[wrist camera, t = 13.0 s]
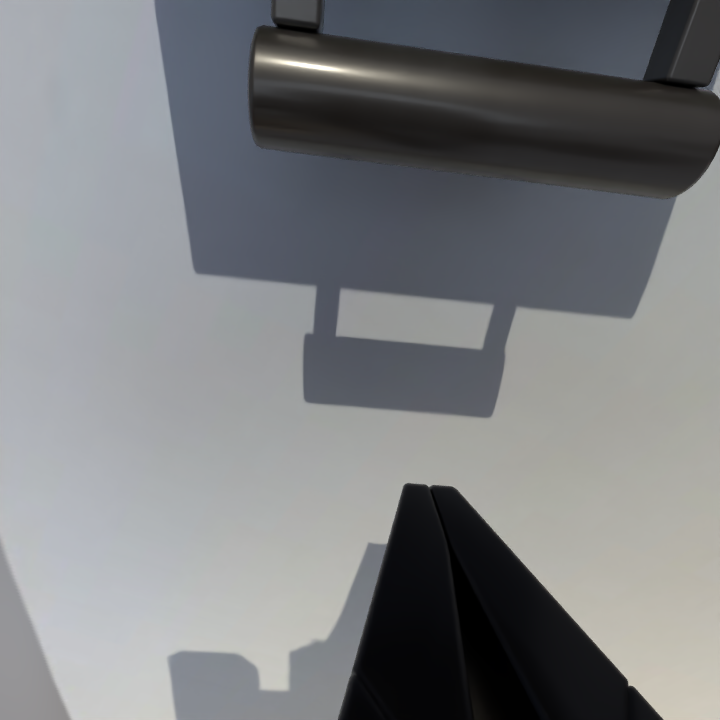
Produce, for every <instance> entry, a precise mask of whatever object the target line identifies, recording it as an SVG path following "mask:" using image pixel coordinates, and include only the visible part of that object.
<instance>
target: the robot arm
mask: <svg viewBox="0 0 720 720" xmlns="http://www.w3.org/2000/svg"><path fill="white" fill-rule="evenodd" d="M338 720H663V719H662V717H661V716H660V715H659V714H658V713H657V712H656V711H655V710H654V709H653V707H652V706H651V705H650V704H649V703H648V702H647V701H646V700H645V699H644V697H643V696H642V695H641V694H640V693H639V692H638V691H637V690H636V689H635V688H634V687H633V686H628V681H627V679H626V678H625V677H624V675H623V674H622V673H621V672H620V671H619V670H618V669H617V668H616V667H615V665H614V664H613V663H612V662H611V661H610V660H609V659H608V658H607V656H606V655H605V654H604V653H603V652H602V651H601V650H600V649H599V648H598V646H597V645H596V644H595V643H594V642H593V641H592V640H591V639H590V638H589V636H588V635H587V634H586V633H585V632H584V631H583V630H582V629H581V627H580V626H579V625H578V624H577V623H576V622H575V621H574V620H573V619H572V617H571V616H570V615H569V614H568V613H567V612H566V611H565V610H564V609H563V607H562V606H561V605H560V604H559V603H558V602H557V601H556V600H555V598H554V597H553V596H552V595H551V594H550V593H549V592H548V591H547V590H546V588H545V587H544V586H543V585H542V584H541V583H540V582H539V581H538V580H537V578H536V577H535V576H534V575H533V574H532V573H531V572H530V571H529V569H528V568H527V567H526V566H525V565H524V564H523V563H522V562H521V561H520V559H519V558H518V557H517V556H516V555H515V554H514V553H513V552H512V551H511V549H510V548H509V547H508V546H507V545H506V544H505V543H504V542H503V540H502V539H501V538H500V537H499V536H498V535H497V534H496V533H495V532H494V530H493V529H492V528H491V527H490V526H489V525H488V524H487V523H486V521H485V520H484V519H483V518H482V517H481V516H480V515H479V514H478V513H477V511H476V510H475V509H474V508H473V507H472V506H471V505H470V504H469V503H468V501H467V500H466V499H465V498H464V497H463V496H462V495H461V494H460V492H459V491H458V490H457V489H455V488H454V487H451V486H439V485H432V486H430V487H428V486H427V485H425V484H411V483H407V484H405V485H404V487H403V490H402V493H401V497H400V500H399V504H398V508H397V511H396V515H395V518H394V522H393V526H392V529H391V533H390V536H389V540H388V543H387V547H386V551H385V554H384V558H383V561H382V565H381V569H380V572H379V576H378V579H377V583H376V586H375V590H374V594H373V597H372V601H371V604H370V608H369V612H368V615H367V619H366V622H365V626H364V629H363V633H362V637H361V640H360V644H359V647H358V651H357V655H356V658H355V662H354V665H353V669H352V674H351V677H350V678H349V682H348V686H347V689H346V693H345V696H344V700H343V703H342V707H341V710H340V714H339V717H338Z"/></svg>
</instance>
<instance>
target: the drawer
mask: <svg viewBox="0 0 720 720" xmlns="http://www.w3.org/2000/svg"><path fill="white" fill-rule="evenodd" d="M324 7H325V0H271V18H272V21H273V23H274V24H275V25H276V27H274V26H267V25H262V26H259V27H257V28H256V30H255V32H254V35H253V39H252V43H251V48H250V55H249V67H248V109H249V120H250V127H251V132H252V136H253V139H254V142H255V144H256V145H257V146H258V147H260V148H261V149H269V150H277V151H285V152H293V153H300V154H308V155H316V156H324V157H332V158H340V159H348V160H356V161H364V162H372V163H380V164H388V165H396V166H404V167H412V168H420V169H428V170H436V171H443V172H451V173H459V174H467V175H475V176H483V177H491V178H499V179H507V180H515V181H523V182H531V183H539V184H547V185H555V186H563V187H571V188H579V189H586V190H594V191H602V192H610V193H618V194H626V195H634V196H642V197H650V198H658V199H668V198H671V197H675V196H677V195H680V194H682V193H683V192H685V191H686V190H688V189H689V188H691V187H692V186H693V185H694V184H695V183H696V182H697V181H698V180H699V179H700V178H701V176H702V175H703V174H704V173H705V171H706V170H707V168H708V167H709V165H710V164H711V162H712V160H713V159H714V157H715V155H716V153H717V151H718V148H719V146H720V98H719V97H718V96H717V95H716V94H715V93H713V92H711V91H709V90H704V89H697V88H698V87H705V86H708V85H709V83H710V82H711V79H712V77H713V74H714V72H715V70H716V67H717V65H718V62H719V60H720V0H670V3H669V6H668V9H667V11H666V14H665V17H664V20H663V23H662V26H661V29H660V32H659V34H658V37H657V40H656V43H655V46H654V49H653V52H652V55H651V57H650V60H649V63H648V66H647V69H646V72H645V75H644V78H643V81H642V80H636V79H629V78H622V77H615V76H608V75H601V74H595V73H588V72H581V71H574V70H567V69H561V68H554V67H547V66H540V65H533V64H526V63H520V62H513V61H506V60H499V59H492V58H485V57H479V56H472V55H465V54H458V53H451V52H445V51H438V50H431V49H424V48H417V47H410V46H404V45H397V44H390V43H383V42H376V41H369V40H363V39H356V38H349V37H342V36H335V35H329V34H322V31H323V23H324Z"/></svg>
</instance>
